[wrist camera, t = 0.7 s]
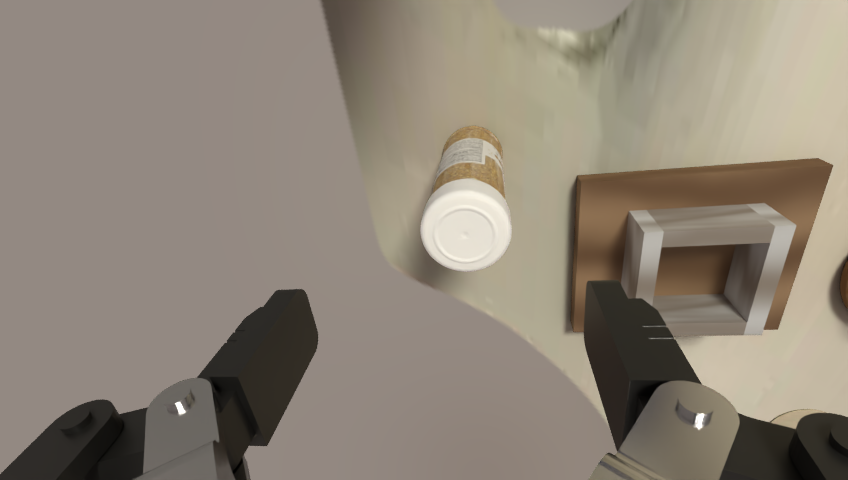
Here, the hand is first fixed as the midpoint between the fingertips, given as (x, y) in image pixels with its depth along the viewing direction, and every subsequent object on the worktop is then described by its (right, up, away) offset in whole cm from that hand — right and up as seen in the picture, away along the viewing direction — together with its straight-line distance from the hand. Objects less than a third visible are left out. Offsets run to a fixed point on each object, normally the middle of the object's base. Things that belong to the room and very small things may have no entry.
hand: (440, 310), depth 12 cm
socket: (+20, +1, +22) cm, 30 cm away
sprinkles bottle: (+3, +9, +20) cm, 22 cm away
